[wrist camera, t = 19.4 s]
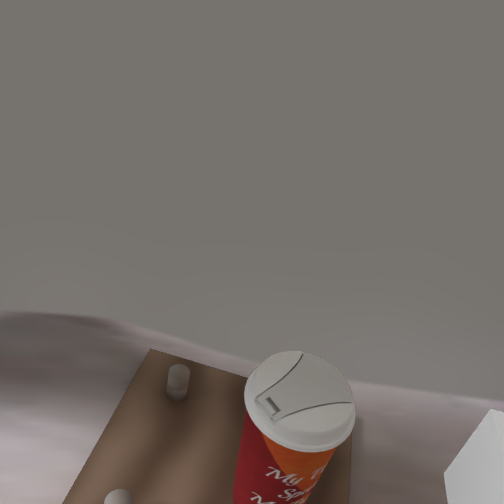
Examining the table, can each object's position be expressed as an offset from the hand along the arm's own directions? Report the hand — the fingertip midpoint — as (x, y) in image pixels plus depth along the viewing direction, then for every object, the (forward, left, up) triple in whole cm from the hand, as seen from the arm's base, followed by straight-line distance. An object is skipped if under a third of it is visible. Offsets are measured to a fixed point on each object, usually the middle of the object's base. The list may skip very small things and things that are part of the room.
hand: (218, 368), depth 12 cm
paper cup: (+5, +14, -29) cm, 33 cm away
